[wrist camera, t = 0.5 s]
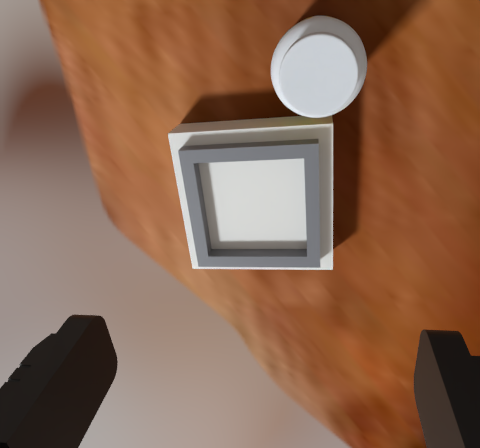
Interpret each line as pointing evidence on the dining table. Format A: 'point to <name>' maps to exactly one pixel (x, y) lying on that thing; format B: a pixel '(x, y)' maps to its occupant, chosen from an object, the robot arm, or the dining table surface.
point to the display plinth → (257, 192)
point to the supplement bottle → (318, 66)
